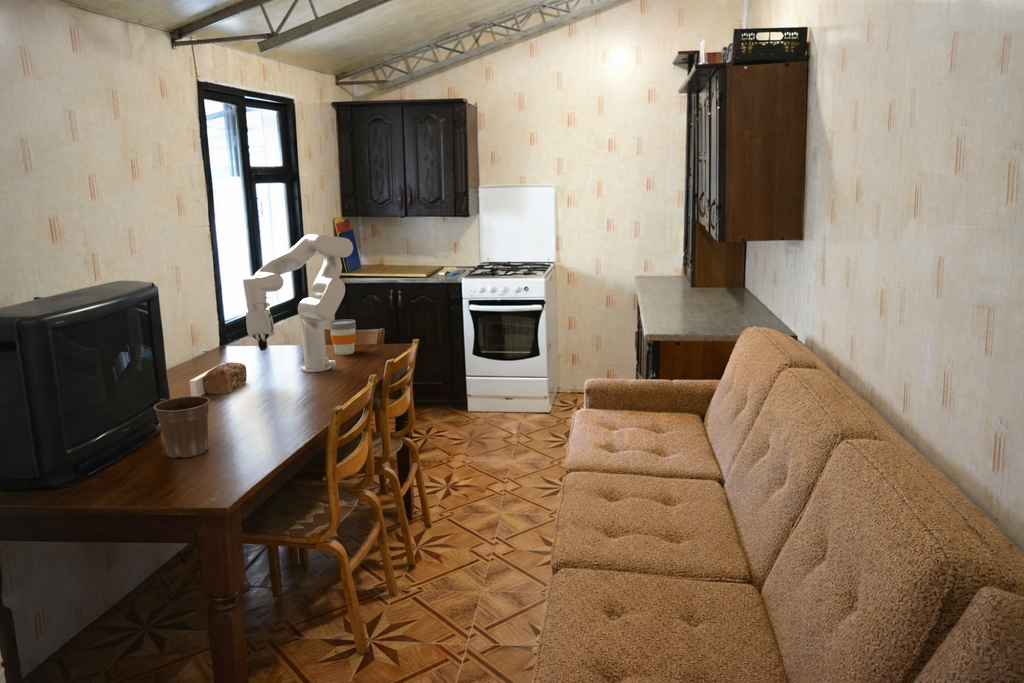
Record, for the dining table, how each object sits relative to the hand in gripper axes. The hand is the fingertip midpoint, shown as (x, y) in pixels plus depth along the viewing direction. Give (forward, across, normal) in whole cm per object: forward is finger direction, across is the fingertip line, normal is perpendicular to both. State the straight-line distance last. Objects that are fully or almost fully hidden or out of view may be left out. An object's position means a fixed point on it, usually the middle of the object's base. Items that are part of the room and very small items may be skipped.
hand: (263, 349), depth 336 cm
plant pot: (+9, -6, +86) cm, 87 cm away
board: (+12, +20, +11) cm, 26 cm away
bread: (+13, +13, +11) cm, 22 cm away
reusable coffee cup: (+18, -18, -52) cm, 57 cm away
